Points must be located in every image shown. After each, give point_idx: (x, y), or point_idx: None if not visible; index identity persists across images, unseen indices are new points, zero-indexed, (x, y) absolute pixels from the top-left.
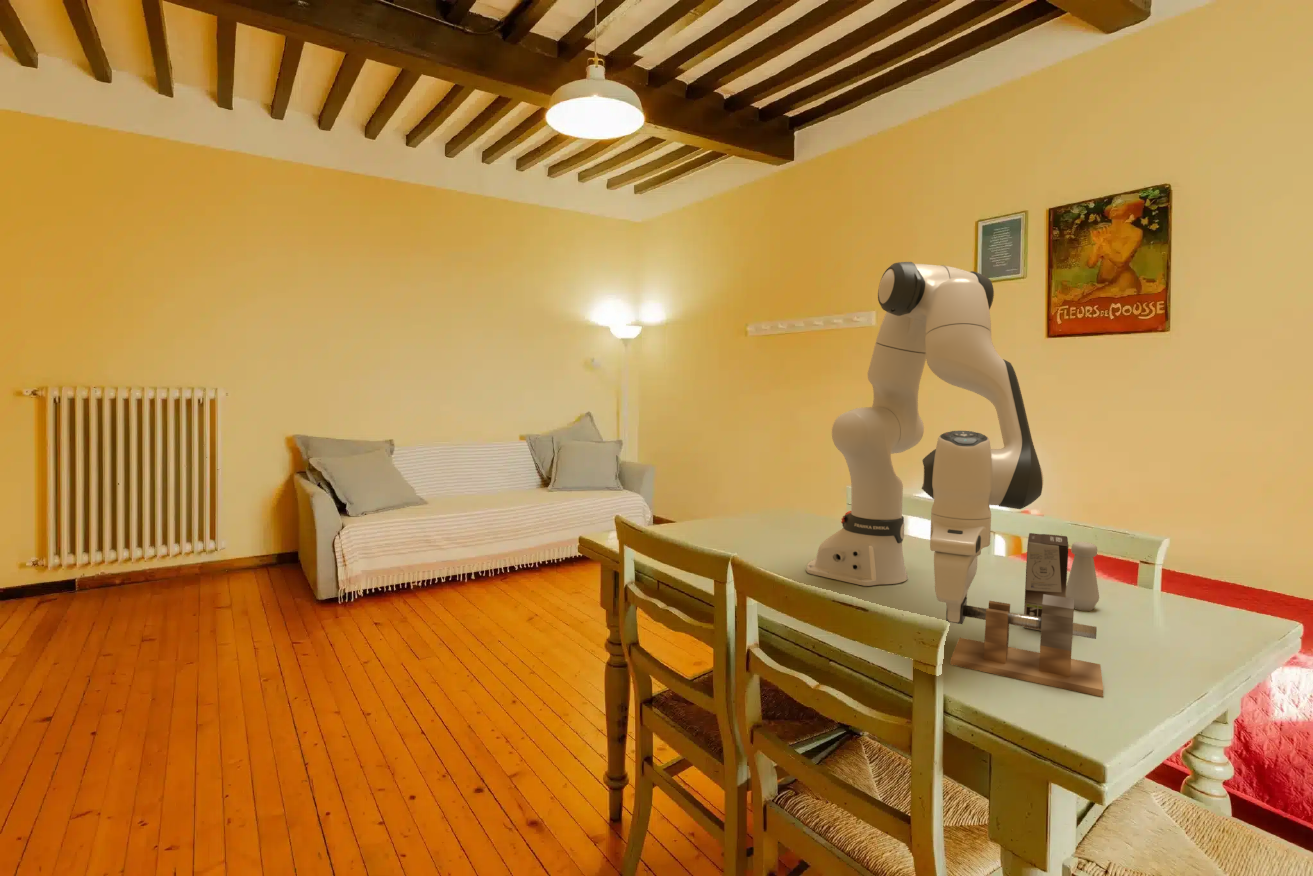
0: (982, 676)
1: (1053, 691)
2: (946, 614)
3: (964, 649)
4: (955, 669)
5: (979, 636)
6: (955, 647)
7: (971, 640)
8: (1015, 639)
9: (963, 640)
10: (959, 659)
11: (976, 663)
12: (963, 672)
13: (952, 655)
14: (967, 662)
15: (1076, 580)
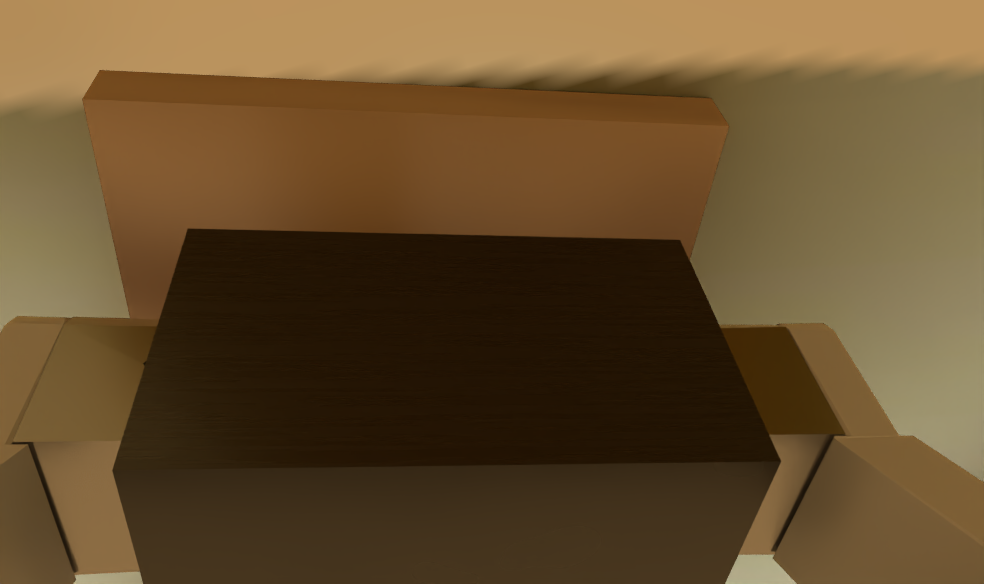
0: (48, 301)
1: (134, 581)
2: (164, 307)
3: (419, 188)
4: (24, 117)
5: (927, 228)
6: (429, 114)
7: (680, 222)
8: (904, 416)
9: (654, 164)
10: (125, 171)
11: (135, 293)
12: (10, 180)
13: (178, 108)
14: (111, 231)
15: None
